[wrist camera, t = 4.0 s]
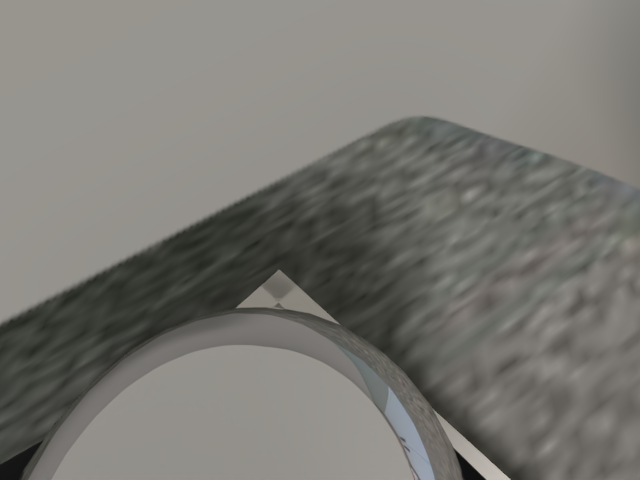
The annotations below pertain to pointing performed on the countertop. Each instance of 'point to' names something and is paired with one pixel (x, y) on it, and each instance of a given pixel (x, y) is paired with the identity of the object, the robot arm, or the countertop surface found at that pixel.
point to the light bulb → (249, 409)
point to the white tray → (291, 297)
